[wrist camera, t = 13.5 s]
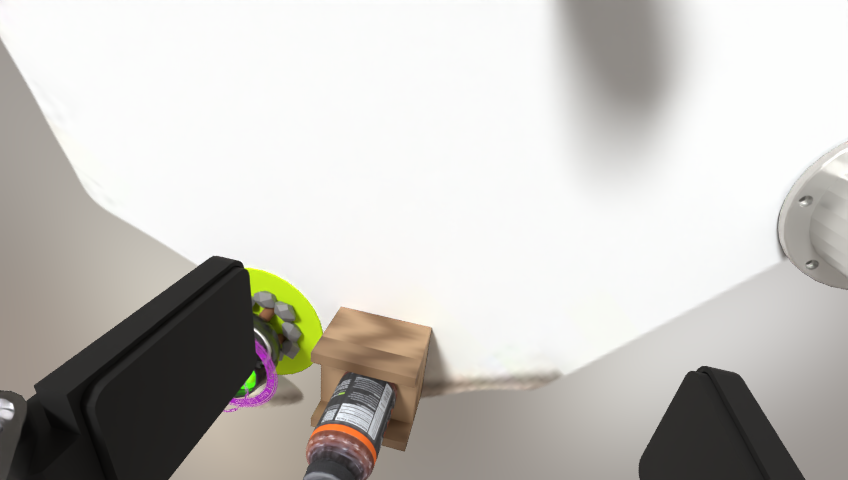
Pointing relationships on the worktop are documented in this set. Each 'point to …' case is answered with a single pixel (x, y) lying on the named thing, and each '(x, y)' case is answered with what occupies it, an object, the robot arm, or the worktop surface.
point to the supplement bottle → (351, 429)
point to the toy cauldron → (278, 333)
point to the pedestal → (375, 363)
